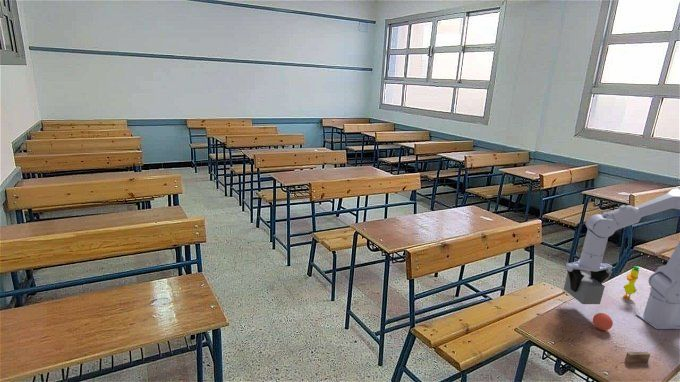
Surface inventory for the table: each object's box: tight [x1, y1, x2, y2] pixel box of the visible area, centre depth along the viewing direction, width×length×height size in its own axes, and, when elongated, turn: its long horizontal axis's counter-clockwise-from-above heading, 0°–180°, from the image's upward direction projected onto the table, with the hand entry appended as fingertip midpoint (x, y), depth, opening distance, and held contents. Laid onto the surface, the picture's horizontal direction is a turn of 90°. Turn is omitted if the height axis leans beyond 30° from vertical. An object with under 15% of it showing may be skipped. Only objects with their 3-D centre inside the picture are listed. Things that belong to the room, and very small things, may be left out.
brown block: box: [624, 351, 651, 364], centre depth 103 cm, size 6×1×2 cm, turn 96°
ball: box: [592, 312, 614, 331], centre depth 116 cm, size 5×5×5 cm
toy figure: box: [622, 265, 640, 300], centre depth 134 cm, size 7×4×12 cm, turn 121°
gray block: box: [563, 271, 606, 305], centre depth 124 cm, size 6×9×6 cm, turn 6°
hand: (582, 290), depth 124 cm, fingers closed on gray block, 6 cm apart
